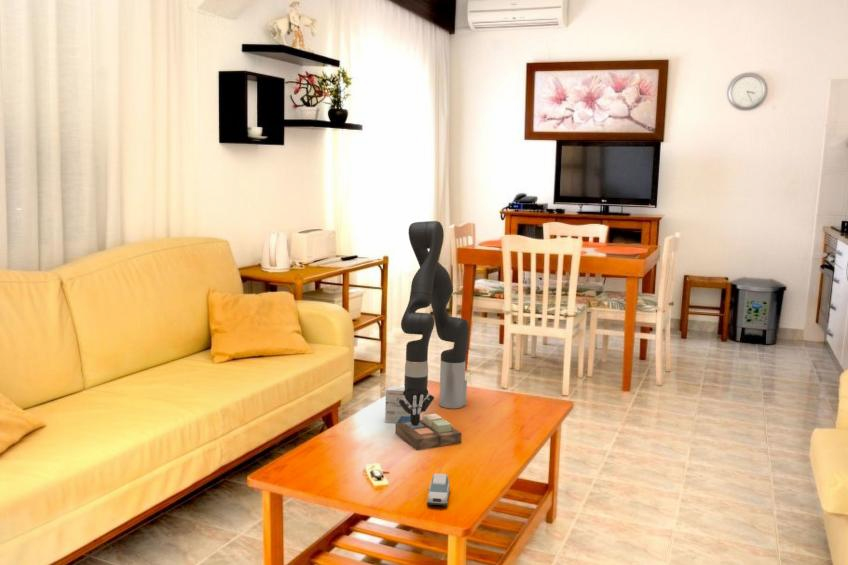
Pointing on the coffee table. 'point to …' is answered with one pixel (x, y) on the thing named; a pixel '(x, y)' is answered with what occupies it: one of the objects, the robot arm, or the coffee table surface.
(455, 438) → the keypad housing
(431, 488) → the toy car
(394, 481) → the coffee table surface
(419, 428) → the slate key
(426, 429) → the terracotta key
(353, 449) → the coffee table surface
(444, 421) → the sage key
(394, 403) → the ink box
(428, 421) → the cream key
